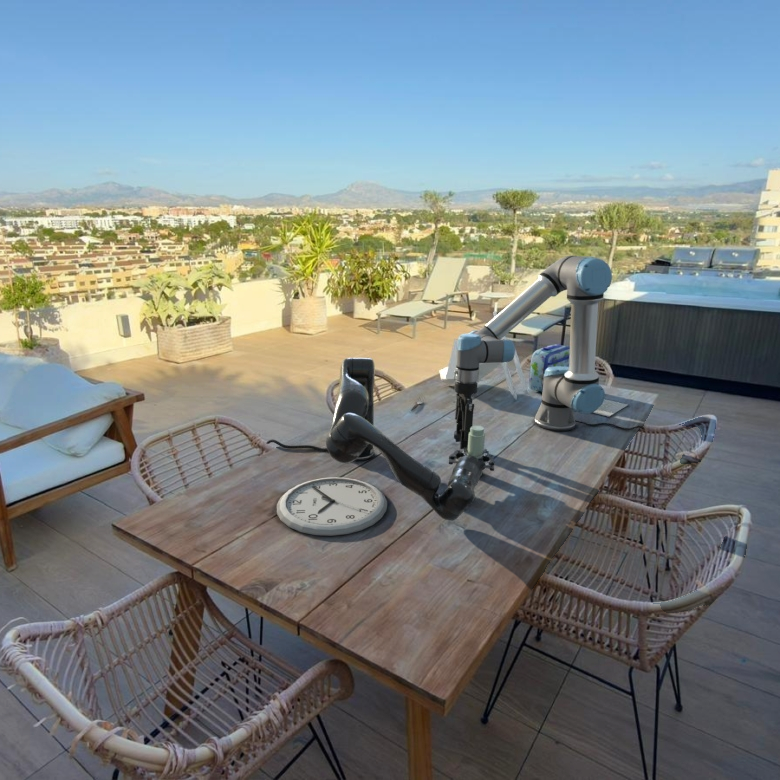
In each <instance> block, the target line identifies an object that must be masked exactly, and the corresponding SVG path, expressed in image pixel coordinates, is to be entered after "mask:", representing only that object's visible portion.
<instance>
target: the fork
mask: <svg viewBox="0 0 780 780" xmlns="http://www.w3.org/2000/svg"><path fill="white" fill-rule="evenodd" d="M424 401H425V396H421V395H420V396H419V397H418V400H417V402H416V404H415V405H414V406H413V407H412V408H411V410H410V411H411V412H413V411H414V410H415V409H417V407H418V406H419V405H422V404H423V403H424Z"/></svg>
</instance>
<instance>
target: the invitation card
mask: <svg viewBox="0 0 780 780" xmlns="http://www.w3.org/2000/svg"><path fill="white" fill-rule="evenodd" d="M628 406H629V404H627V403H623V402H618V401H614V400H609V399H605V398H604V401H603V403H602V405H601V406H600V407H599V408H598V409H597V410H596V411H594V412H592V413H591V414H596V415H600V416H604V417H608V418H609V417H611V416H613V415H614V414H616V413H617V412H619V411H621V410H623V409H624V408H626V407H628Z"/></svg>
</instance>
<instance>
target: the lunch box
mask: <svg viewBox="0 0 780 780" xmlns="http://www.w3.org/2000/svg"><path fill="white" fill-rule="evenodd" d="M569 356H570V345H569V346H568V345H562V344H551V345H547V346H545V347H541V348H539V349H536V350H534V352H533V353H532V355H531V358H530V359H531V360H530V366H529V377H528V379H529V380H528V387H529V390H531V391H536V392H541V393H542V392H543V382H544V374H545V370H546V369H547V368H549V367H557V366H562V367H569Z"/></svg>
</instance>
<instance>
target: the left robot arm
mask: <svg viewBox="0 0 780 780" xmlns="http://www.w3.org/2000/svg"><path fill="white" fill-rule="evenodd" d="M375 367H376V366H375V362H374V360H373V358H369V357H346V358H344V359H343V360H342V362H341V364H340V368H339V385H338V389H337V394H336V398H335V403H334V404H335V405H334V411H333V418H332V422H331V427H330V430H329V431H328V434H327V437H326V439H325V445H326V447H325V448H324V447H323V448H321V447H318V446H315V445H310V444H302V445H301V444H300V445H298V444H297V445H287V444H284V443H282V442H280V441H278V440H276V439H269V440H267V441H266V442H265V444H267V445H269V444H271V443H274V444H276V445H277V446H279V447H282V448H284V449H292V450H293V449H312V450H316V451H319V452H328V454H329V455H330V456H331V458H333V459H334V460H335V461H336V462H338V463H339V464H350V463H353V462H355V461H359V462H361V461H366V460H370V459H371V458H373V457H374V451H375V449H377V450H378V452H380V453H381V454H382V456H383V457H384V459H385V460H386V462H387V464H388V466H389V468H390V471H391V472H392V475H393V476H394V478H395V479H396V480H397V481H398V482H399V484H401V486H403V487H404V488H406V489H408V490H409V491H411V492H413V493H414V494H416V495H418V496H419V497H420V498H422V499H423V500H424V501H425V502H426V504H428V505H429V506H430V508H432V510H433V511H434V512H435V513H436V514H437V515H438V516H439V517H440V518H441V519H443V520H446V521H455V520H457V519H458V518H459V517H460V516H461V515H462V514H463V513H464V512H465V511H466V510H467V509H468V508H469V507H470V506H471V505H472V504H473V502H474V500H475V497H476V495H475V494H476V493H475V487H476V486H477V485H478V483H479V480H480V478H481V476H482V475H481V473H482V474H483V471H484V470H485V469H488V470H489V471H491V472H494V471H495V464H496V463H495V457H494V455H493V454H489V452H490V451H489V450H488V449H487V448H484V452H483V454H482V455H481V454H480V455H478V456H477V457H476V456H475V457H474V456H470V455H468V453H467V452H468V446H467V447H466V448H464V449H456V450H454V451H453V452H452V453H451V454H450V455H449V456H448V465H453V464H455V466H454V467H453V469H452V472H451V475H450V478H449V479H448V482H447V487H446V488H445V489H444V491H442V493H439V492H438V490H439V489H440V486H441V483H442V479H441V476H440V475H439V474H437V472H435V471H434V470H432V469H430V468H429V467H427V466H425V465H424V464H422V463H421V462H420V461H418V460H416V459H415V458H413V457H412V456H410V455H409V454H408V453H406V452H405V451H404V450H403V449H402V448H401V447H400V446H399V445H397V444H396V443H395V442H394V441H392V440H391V439H390V438H389V437H388V436H386V434H385V433H384V432H382V431H381V430H380V429H378V428H377V427H376V426H374V420H375V419H374V415H375V414H374V409H375V408H374V404H375V403H374V402H375V401H374V399H375V397H374V388H375V375H376V368H375ZM461 450H462V451H461ZM480 475H481V476H480Z"/></svg>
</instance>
